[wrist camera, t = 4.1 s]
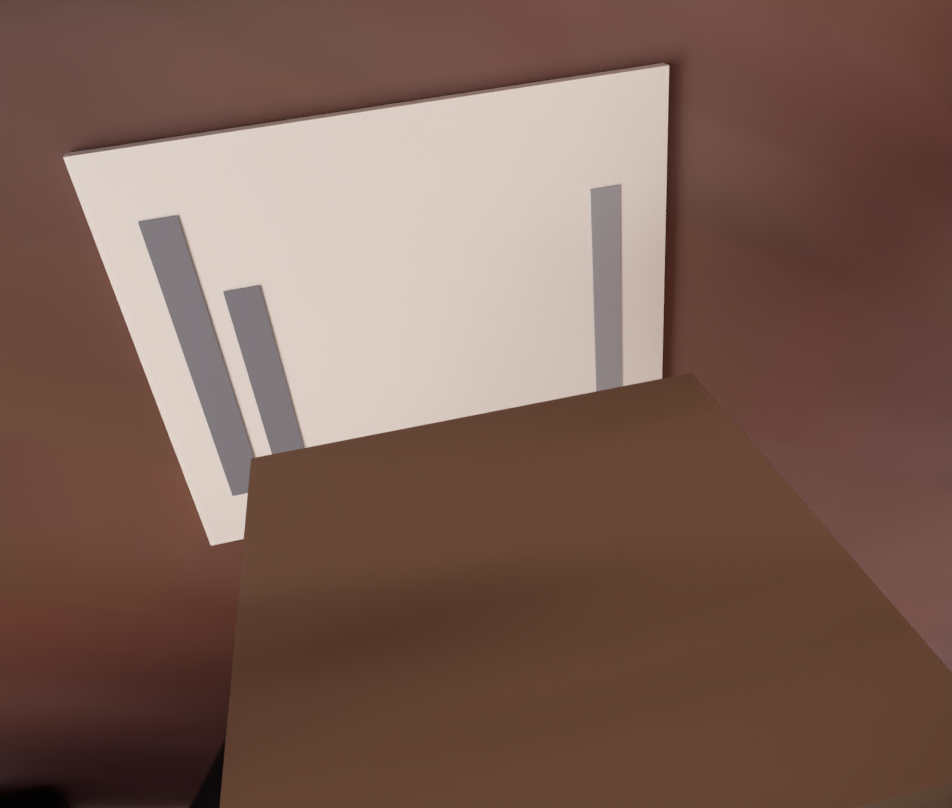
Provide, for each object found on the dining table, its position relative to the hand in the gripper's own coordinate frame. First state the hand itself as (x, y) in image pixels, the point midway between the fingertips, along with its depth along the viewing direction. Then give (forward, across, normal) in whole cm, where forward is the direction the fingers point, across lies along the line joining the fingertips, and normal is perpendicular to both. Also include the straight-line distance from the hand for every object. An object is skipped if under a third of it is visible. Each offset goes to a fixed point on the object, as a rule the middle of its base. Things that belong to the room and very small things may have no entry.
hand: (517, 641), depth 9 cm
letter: (+9, 0, 0) cm, 9 cm away
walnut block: (+1, 0, 0) cm, 1 cm away
